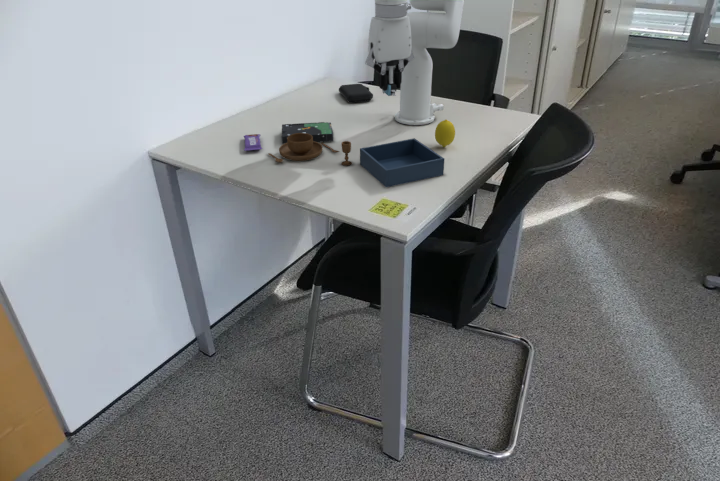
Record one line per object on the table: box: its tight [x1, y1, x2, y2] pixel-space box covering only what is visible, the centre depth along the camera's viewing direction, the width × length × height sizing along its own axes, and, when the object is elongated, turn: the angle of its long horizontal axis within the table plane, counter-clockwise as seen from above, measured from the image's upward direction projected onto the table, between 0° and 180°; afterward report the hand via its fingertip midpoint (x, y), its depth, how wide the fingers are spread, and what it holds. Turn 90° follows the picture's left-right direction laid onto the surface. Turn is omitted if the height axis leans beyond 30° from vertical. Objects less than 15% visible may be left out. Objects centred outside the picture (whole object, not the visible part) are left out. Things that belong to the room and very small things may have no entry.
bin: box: [359, 137, 445, 188], centre depth 138 cm, size 16×15×4 cm
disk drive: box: [281, 121, 334, 145], centre depth 159 cm, size 10×3×15 cm
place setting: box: [268, 133, 353, 167], centre depth 145 cm, size 18×20×6 cm
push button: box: [380, 60, 398, 97], centre depth 136 cm, size 7×5×10 cm
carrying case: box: [338, 83, 374, 104], centre depth 191 cm, size 11×3×15 cm
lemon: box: [434, 119, 456, 148], centre depth 150 cm, size 6×6×8 cm
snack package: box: [243, 133, 263, 152], centre depth 154 cm, size 12×2×5 cm
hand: (389, 87), depth 138 cm, fingers closed on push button, 3 cm apart
